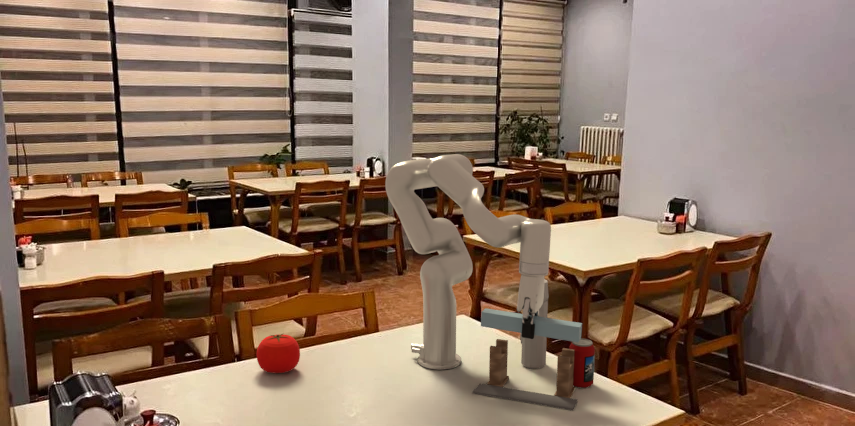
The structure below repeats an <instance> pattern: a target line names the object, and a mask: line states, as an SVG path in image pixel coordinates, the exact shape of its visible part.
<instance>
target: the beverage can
mask: <svg viewBox="0 0 855 426" xmlns="http://www.w3.org/2000/svg"><path fill="white" fill-rule="evenodd" d="M568 349H573V350H574V374H573V386H574V387H575V388H577V389H578V388H579V389H587V388H590V387H591V386H593V385H594V381H595V380H594V379H595V378H594V377H595V357H596V354H595V353H596V348H595V346H594V344H593V341H592V340H590V339H588V338H582V337H581V339H580V341H579V342H573V341H571V342H570V345H569V346H568Z"/></svg>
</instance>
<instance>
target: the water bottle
mask: <svg viewBox="0 0 855 426" xmlns="http://www.w3.org/2000/svg"><path fill="white" fill-rule="evenodd" d="M548 283H549V282H548V280H547V279H544V299H543V304H542V306H541V307H540V309H539V317H545V318H548V307H549V297H550V296H549V286H548V285H549V284H548ZM523 310H524V308H523V309H522V311H523ZM519 335H520V336H519V337H520V338H519V339H520V345H521V359H520V360H521V362H520V363H521V364H522V365H523V367H525V368H528V369H532V370H536V369H537V370H538V369H542V368H544V367H546V365H547V363H546V362H547V338H548V337H543V336H537V335H534V338H533V339H529V338H523V337H522V333H519Z"/></svg>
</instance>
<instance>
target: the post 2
mask: <svg viewBox="0 0 855 426" xmlns="http://www.w3.org/2000/svg"><path fill="white" fill-rule="evenodd" d="M556 366H557V367H556V389H555V390H556V391H555V392H554V394H553V395H554V396H560V397H566V398H572V396H573V395H574V392H575V389H576V387H574V386H573V374H574V350H573V349H569V348H565V347H563V348H562V349H561V355H558V356H557V364H556Z"/></svg>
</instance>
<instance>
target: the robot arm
mask: <svg viewBox="0 0 855 426" xmlns="http://www.w3.org/2000/svg"><path fill="white" fill-rule="evenodd" d="M473 170H474V168H473V164H472V163H471V161H470V159H469V158H468V157H466V156H465V155H464V154H460V153H455V154H454V153H453V154H443V155H439V156H436V157H433V158H423V159H412V160H410V159H409V160H404V161H400V162H398V163H396V164H394V165H392V166H391V168H390V169H389V170H388V172H387V173H386V177H385V182H384V184H385V185H384V186H385V192H386V195H387V198H388V200H389V202H390V204H391V205H392V207H393V209H394V211H395V212H396V214H397V216H398V219H399V220H400V223H401V226H402V227H403V231H404V233H405V234H406V237H407V238H408V241H409V243H410V245H411V247H412V249H413V250H414V252H415V253H417V254H419V255H428V254H431V253H436V252H437V253H438V255H433V256H432V257H429V258H428V259H426V260H425V261H424V262H423V264H422V265H421V267H420V271H419V276H420V277H419V278H420V284H421V289H422V302H423V303H422V308H423V311H422V312H423V315H422V316H423V317H422V318H423V320H422V321H423V322H422V323H423V326H422V327H423V328H422V329H423V331H422V332H423V333H422V337H423V339H422V342H423V343H422V344H418V343H411V345H410V350H411V353H413V354H414V353H415V354H419V355H418V357H417V363H418V364H419V365H420V366H421V367H423V368H426V369H430V370H439V371H440V370H441V371H442V370H450V369H454V368H457V367H458V366H460V365H461V363H462V358H461V357H462V356H461V355H460V354H458V353H457V299H456V296H455V294H454V289H453V286H456V285H457V284H460V283H463V282H465V281H467V280H469V278H470V277H471V276H472V273H473V271H474V270H473V261H472V258H471V256H470V253H469V251H468V249H467V247H466V244H465V243H464V240H463V238H462V235H461V234H460V232H459V229H458V228H457V226H456V225H455V224H454V223H453V222H452V221H451V220H450V219H447V218H446V217H445V218H444V217H436V218H433V217H432V215H431V214H430V213H429V210H428V208H427V206H426V204H425V202H424V201H423V200H422V198H421V197H419V195H418V194H416V192H415V190H421V189H427V188H433V187H437V188H439V189H440V190H441V191H442V192H443V193H444V194H445V195H446V196H448V197H449V198H450V199H451V200H452V201H454V203H456V204H457V205H458V206H459V207H460V209H461V210H462V211H461V212H462V215H463V218H464V219H465V222H466V223H467V226H469V228H470V229H471V230H472V231H473V233H474V234H476V235H477V236H478V237H479V238H480V239H481V240H482V241H484V243H486V244H488V245H489V246H491V247H493V248H504V247H507V246H510V245H511V246H512V245H513V244H519V243H520V246H519V264H518V273H519V274H520V277H519V278H520V280H519V285H518V287H519V288H518V293H517V294H518V295H517V305H516V311H517V313H520V312H522V314H523V316H522V318H523V320H522V337H523V338H529V339H533V338H534V331H535V324H534V316H539V309H540V307H541V306H542V304H543V299H544V279H545V277H546V276H548V275H549V267H550V252H551V239H552V238H551V235H552V234H551V233H552V227H551V223H550V222H549V221H547V220H544V219H537V218H536V219H535V218H529V217H527V216H524V215H521V214H509V215H504V216H500V217H498V216H496V215H495V214H493V212H491V211H490V210H489V209H488V208H487V207H486V206H485V205H484V203H483V201H482V197H483V196H484V193H485V188H484V187H485V186H484V184H483V183H482V182H480V180H478V179H476V178H475V176H473V172H474V171H473ZM545 280H546V279H545ZM523 308H524V310H523ZM529 315H531V316H529Z"/></svg>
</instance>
